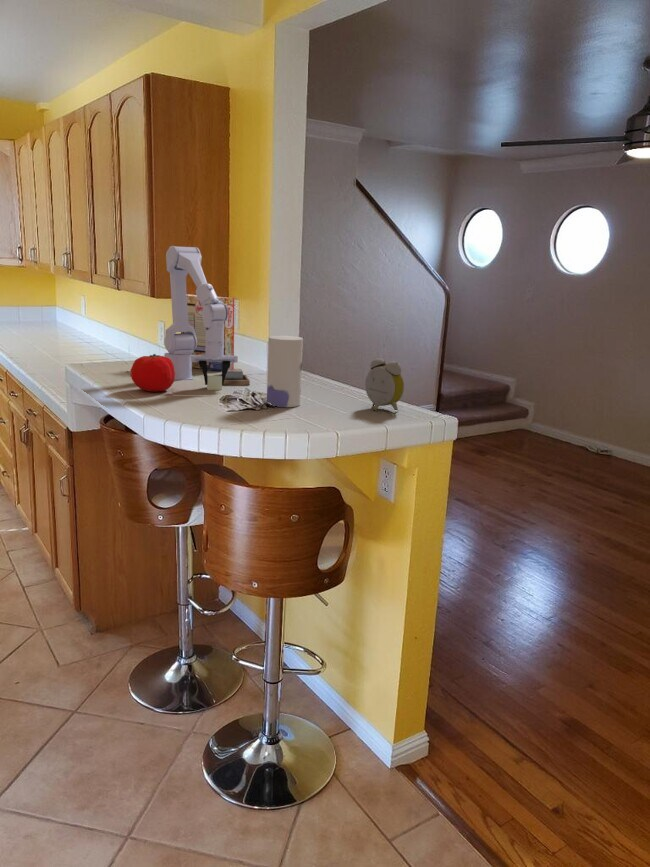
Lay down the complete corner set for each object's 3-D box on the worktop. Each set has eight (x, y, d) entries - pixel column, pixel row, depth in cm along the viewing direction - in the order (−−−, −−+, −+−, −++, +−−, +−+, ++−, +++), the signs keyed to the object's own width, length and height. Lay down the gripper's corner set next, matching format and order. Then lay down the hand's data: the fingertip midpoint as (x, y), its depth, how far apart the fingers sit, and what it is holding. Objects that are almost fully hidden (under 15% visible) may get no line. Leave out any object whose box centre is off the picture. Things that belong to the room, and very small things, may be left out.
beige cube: (207, 390, 212) (207, 376, 211) (206, 387, 216) (206, 373, 215) (221, 390, 213) (222, 376, 212) (220, 387, 217) (220, 373, 216)
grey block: (224, 383, 223) (224, 371, 222) (223, 380, 229) (223, 368, 228) (242, 383, 224) (242, 371, 223) (240, 380, 230) (240, 368, 229)
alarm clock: (403, 412, 196) (407, 362, 193) (387, 415, 192) (391, 363, 188) (374, 404, 205) (378, 356, 201) (358, 407, 200) (362, 357, 196)
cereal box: (234, 370, 251) (235, 297, 244) (225, 372, 245) (225, 298, 238) (189, 364, 259) (189, 293, 252) (179, 366, 254) (179, 294, 247)
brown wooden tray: (213, 386, 220) (213, 380, 219) (210, 380, 230) (210, 374, 230) (249, 386, 223) (249, 380, 222) (245, 380, 233) (245, 374, 232)
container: (307, 405, 199) (310, 338, 194) (282, 409, 193) (284, 340, 187) (284, 399, 206) (287, 334, 201) (259, 403, 199) (261, 335, 194)
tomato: (178, 394, 206) (178, 356, 203) (133, 395, 200) (132, 357, 197) (171, 386, 216) (170, 351, 213) (128, 387, 211) (127, 351, 208)
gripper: (191, 343, 205) (191, 386, 209) (238, 344, 209) (238, 386, 212) (190, 340, 212) (190, 382, 215) (236, 341, 215) (235, 382, 219)
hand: (214, 384), depth 214 cm, fingers closed on beige cube, 4 cm apart
